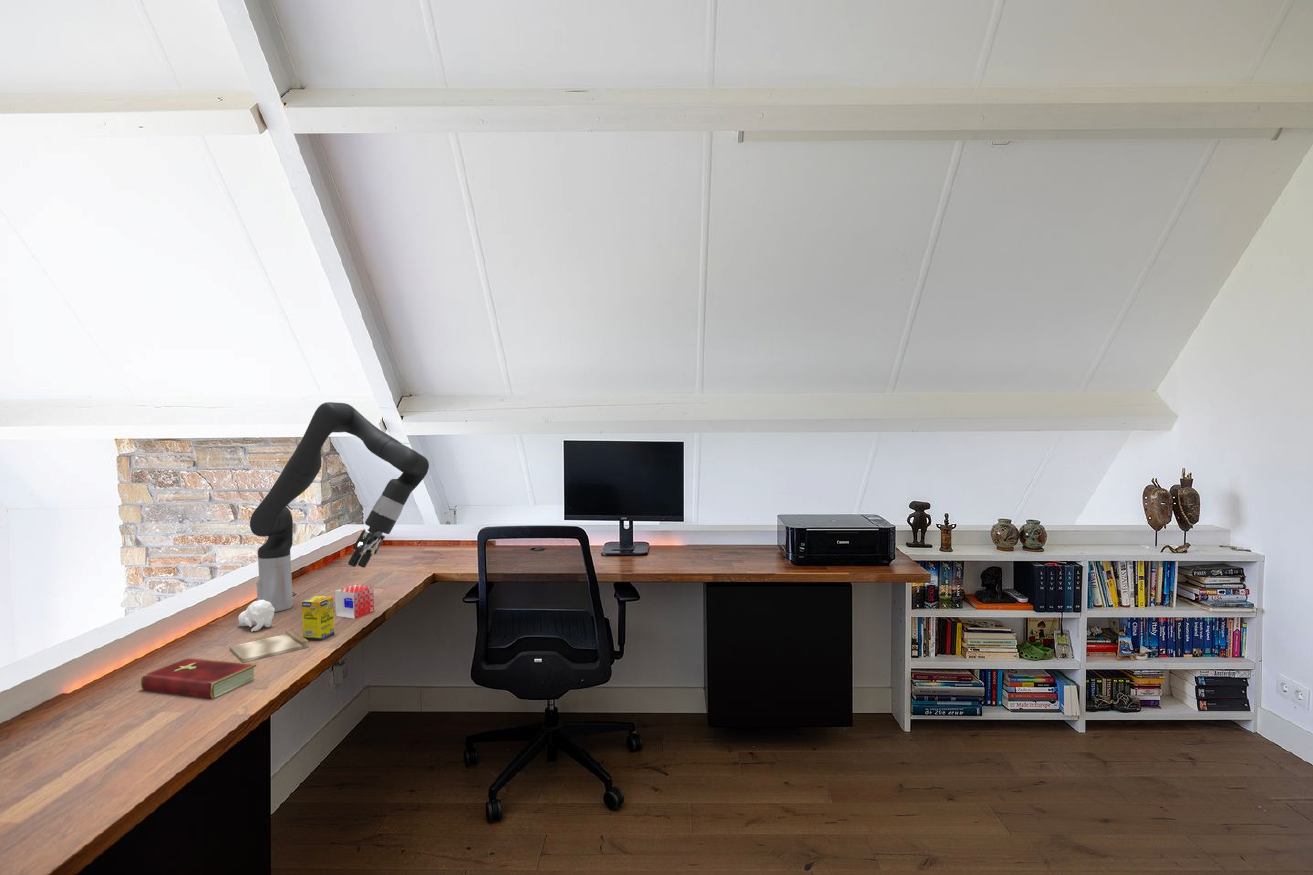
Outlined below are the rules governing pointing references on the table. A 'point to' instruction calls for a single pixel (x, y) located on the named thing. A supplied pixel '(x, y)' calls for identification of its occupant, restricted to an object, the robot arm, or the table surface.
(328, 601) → the supplement box
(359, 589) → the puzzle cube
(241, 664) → the hardcover book
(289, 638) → the board
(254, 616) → the white figurine
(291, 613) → the table surface
